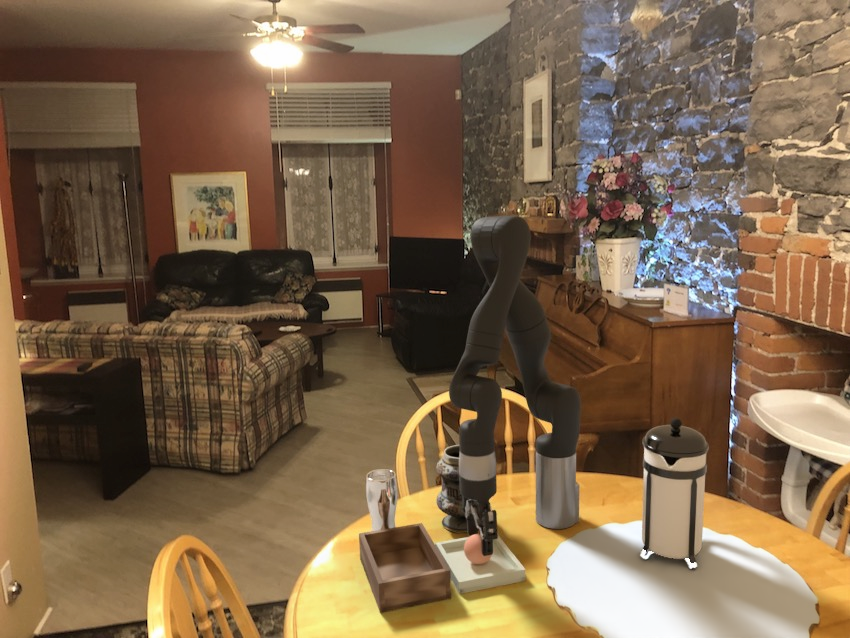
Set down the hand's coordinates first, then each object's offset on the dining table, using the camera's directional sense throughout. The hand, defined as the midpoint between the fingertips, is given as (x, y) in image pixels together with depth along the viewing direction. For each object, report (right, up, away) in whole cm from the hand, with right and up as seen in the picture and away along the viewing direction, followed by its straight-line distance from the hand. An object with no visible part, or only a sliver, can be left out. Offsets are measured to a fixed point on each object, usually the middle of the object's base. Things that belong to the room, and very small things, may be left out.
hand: (479, 544), depth 144 cm
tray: (0, -5, +1) cm, 5 cm away
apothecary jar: (-2, -2, +20) cm, 20 cm away
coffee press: (+41, -3, +5) cm, 42 cm away
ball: (0, -1, 0) cm, 1 cm away
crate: (-16, -6, -2) cm, 17 cm away
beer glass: (-21, -3, +15) cm, 26 cm away
